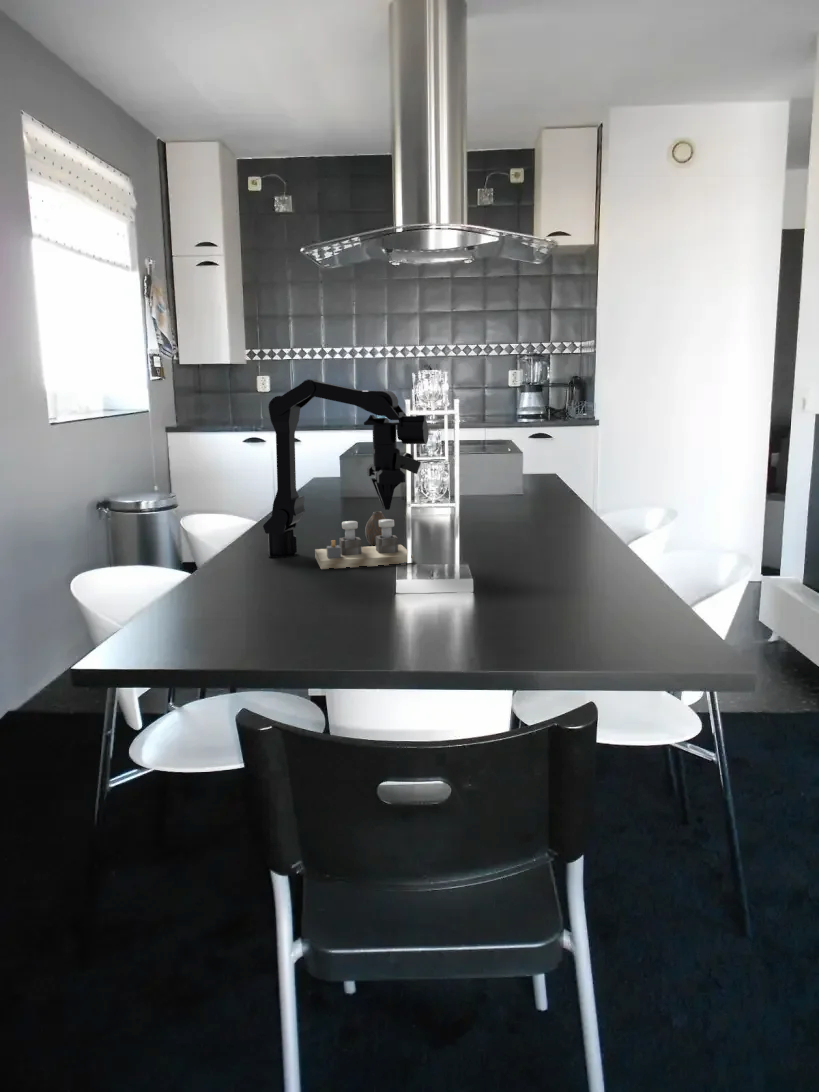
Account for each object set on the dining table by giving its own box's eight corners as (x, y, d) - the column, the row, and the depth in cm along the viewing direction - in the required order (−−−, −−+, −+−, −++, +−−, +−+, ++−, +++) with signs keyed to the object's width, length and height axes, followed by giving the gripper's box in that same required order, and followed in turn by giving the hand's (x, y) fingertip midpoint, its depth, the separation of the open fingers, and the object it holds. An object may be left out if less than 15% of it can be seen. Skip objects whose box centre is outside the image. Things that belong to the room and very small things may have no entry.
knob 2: (380, 542, 200) (380, 522, 199) (377, 539, 204) (377, 519, 203) (395, 541, 201) (395, 521, 200) (393, 538, 204) (392, 518, 204)
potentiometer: (328, 558, 195) (327, 542, 194) (326, 556, 198) (326, 539, 197) (340, 557, 196) (340, 541, 195) (339, 555, 199) (338, 539, 198)
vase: (380, 548, 217) (379, 515, 215) (360, 545, 221) (359, 512, 219) (396, 543, 222) (395, 511, 221) (376, 541, 226) (375, 509, 225)
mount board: (320, 569, 193) (320, 546, 192) (315, 557, 207) (314, 535, 206) (413, 563, 197) (412, 541, 196) (401, 552, 211) (401, 531, 210)
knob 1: (343, 544, 198) (342, 523, 197) (341, 541, 202) (340, 521, 201) (359, 543, 199) (358, 523, 198) (356, 540, 203) (356, 520, 202)
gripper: (426, 445, 190) (427, 512, 193) (409, 440, 208) (410, 502, 211) (378, 447, 188) (380, 515, 191) (366, 441, 206) (367, 503, 209)
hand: (386, 508), depth 201 cm, fingers open, 3 cm apart
